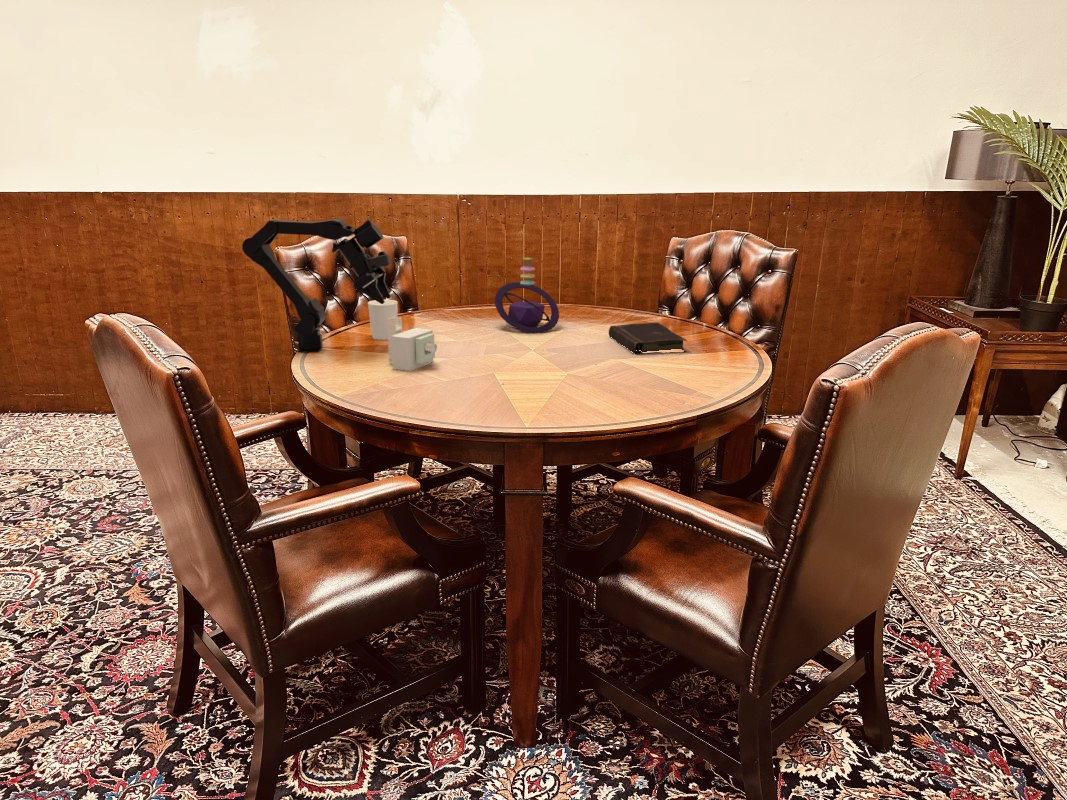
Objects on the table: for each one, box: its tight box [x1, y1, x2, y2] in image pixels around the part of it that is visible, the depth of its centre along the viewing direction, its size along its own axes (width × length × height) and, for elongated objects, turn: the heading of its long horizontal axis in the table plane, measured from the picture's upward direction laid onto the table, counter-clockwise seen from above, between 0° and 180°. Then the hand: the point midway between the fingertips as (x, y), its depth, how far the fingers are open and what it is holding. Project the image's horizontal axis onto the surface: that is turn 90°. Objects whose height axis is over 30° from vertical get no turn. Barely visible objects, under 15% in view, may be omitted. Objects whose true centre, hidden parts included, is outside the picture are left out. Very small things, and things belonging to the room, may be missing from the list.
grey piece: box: [387, 316, 438, 363], centre depth 208 cm, size 15×3×13 cm, turn 64°
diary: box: [608, 321, 688, 354], centre depth 237 cm, size 19×25×5 cm
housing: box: [391, 327, 435, 372], centre depth 208 cm, size 6×12×10 cm, turn 154°
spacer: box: [416, 334, 436, 363], centre depth 206 cm, size 2×7×7 cm, turn 154°
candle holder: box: [367, 299, 398, 341], centre depth 242 cm, size 10×10×12 cm
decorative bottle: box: [494, 257, 560, 334], centre depth 255 cm, size 22×21×25 cm
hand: (386, 300), depth 221 cm, fingers open, 9 cm apart
